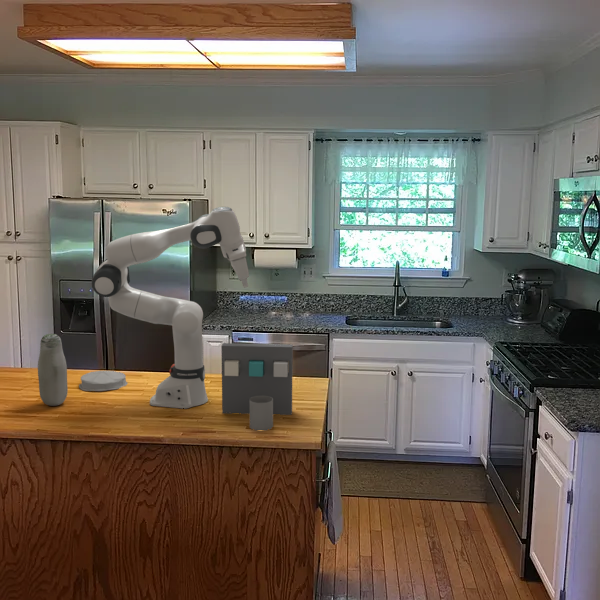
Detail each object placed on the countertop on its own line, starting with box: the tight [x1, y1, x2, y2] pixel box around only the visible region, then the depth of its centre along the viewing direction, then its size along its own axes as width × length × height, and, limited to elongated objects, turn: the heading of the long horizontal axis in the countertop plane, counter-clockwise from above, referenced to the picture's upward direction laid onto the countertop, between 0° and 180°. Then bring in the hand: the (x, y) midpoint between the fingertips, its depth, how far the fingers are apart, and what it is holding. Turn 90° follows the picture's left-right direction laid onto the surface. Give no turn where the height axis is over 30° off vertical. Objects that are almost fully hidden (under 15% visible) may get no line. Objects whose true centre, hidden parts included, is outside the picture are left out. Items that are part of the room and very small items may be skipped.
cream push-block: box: [224, 360, 240, 376], centre depth 236 cm, size 5×6×5 cm
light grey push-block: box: [274, 361, 289, 377], centre depth 235 cm, size 5×6×5 cm
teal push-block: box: [249, 360, 264, 377], centre depth 236 cm, size 5×6×5 cm
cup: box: [249, 396, 274, 431], centre depth 226 cm, size 8×8×10 cm
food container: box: [78, 370, 128, 392], centre depth 271 cm, size 20×20×7 cm
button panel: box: [220, 342, 294, 416], centre depth 238 cm, size 26×4×26 cm, turn 88°
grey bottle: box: [37, 333, 69, 407], centre depth 244 cm, size 10×10×28 cm
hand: (243, 283), depth 241 cm, fingers open, 8 cm apart
